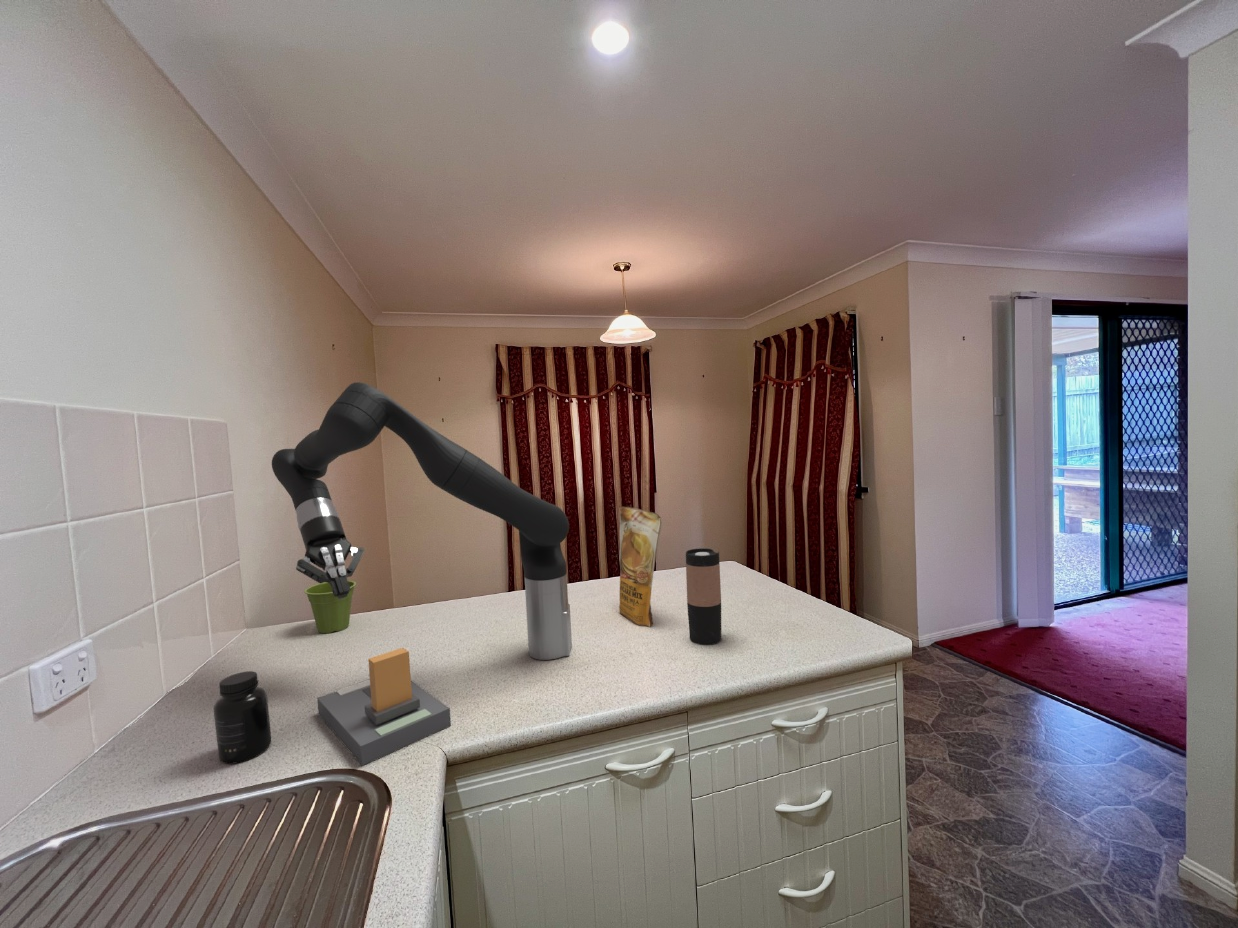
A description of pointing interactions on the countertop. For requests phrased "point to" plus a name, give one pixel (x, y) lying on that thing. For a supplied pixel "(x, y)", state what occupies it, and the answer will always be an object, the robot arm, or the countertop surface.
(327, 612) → the plant pot
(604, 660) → the countertop surface
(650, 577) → the pancake mix bag
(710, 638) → the travel mug
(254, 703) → the supplement bottle
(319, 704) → the switch console
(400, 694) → the handle
